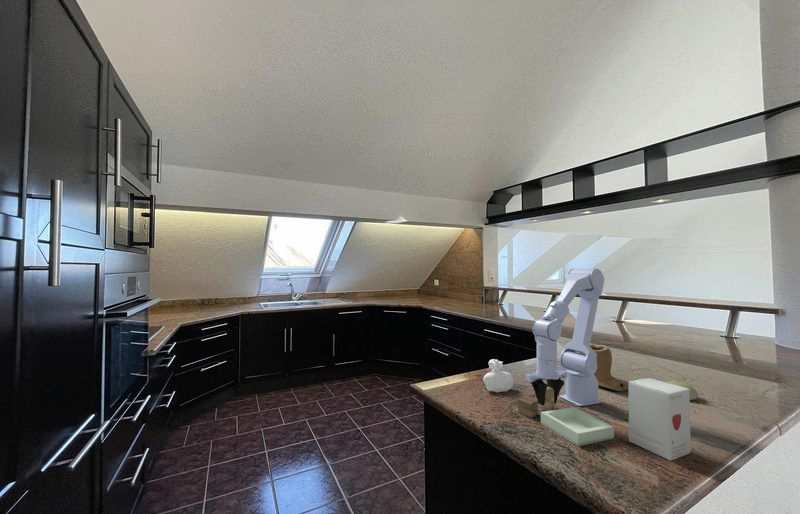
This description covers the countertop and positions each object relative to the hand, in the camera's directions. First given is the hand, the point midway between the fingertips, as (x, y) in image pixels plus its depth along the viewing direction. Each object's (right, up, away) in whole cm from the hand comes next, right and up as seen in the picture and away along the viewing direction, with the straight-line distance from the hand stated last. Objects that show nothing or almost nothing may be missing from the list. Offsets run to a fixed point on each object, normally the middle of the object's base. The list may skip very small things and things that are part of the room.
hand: (546, 403), depth 95 cm
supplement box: (+17, -1, -21) cm, 27 cm away
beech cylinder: (0, -2, 0) cm, 2 cm away
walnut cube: (-7, -1, -4) cm, 8 cm away
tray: (+1, -1, -13) cm, 13 cm away
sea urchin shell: (+53, -4, +12) cm, 54 cm away
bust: (-11, -3, +15) cm, 19 cm away
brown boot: (+31, -4, +21) cm, 37 cm away
